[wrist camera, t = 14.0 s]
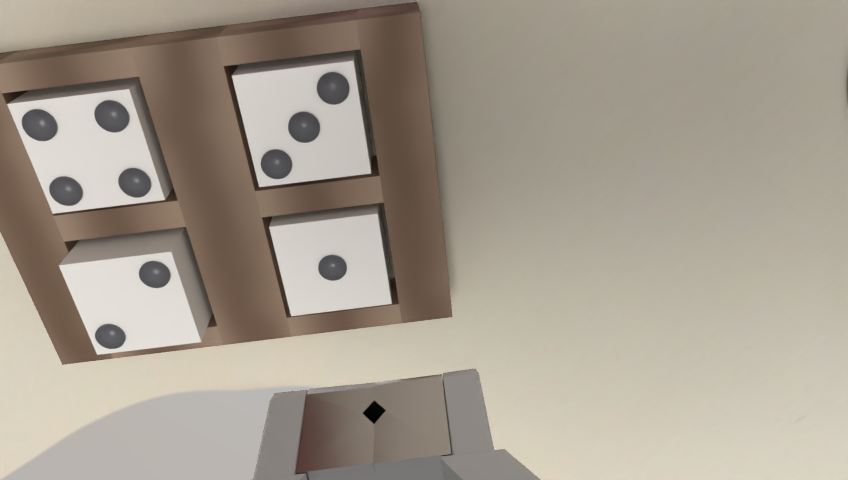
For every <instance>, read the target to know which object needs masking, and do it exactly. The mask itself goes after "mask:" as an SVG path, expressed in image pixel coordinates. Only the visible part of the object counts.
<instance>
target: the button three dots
mask: <svg viewBox="0 0 848 480" xmlns="http://www.w3.org/2000/svg"><path fill="white" fill-rule="evenodd" d="M232 79H233V83H234V87H235V91H236V95H237V99H238V103H239V108H240V112H241V116H242V120H243V124H244V128H245V132H246V136H247V140H248V144H249V148H250V152H251V156H252V160H253V164H254V168H255V172H256V176H257V180H258V184H259V187H265V186H273V185H282V184H290V183H298V182H306V181H314V180H322V179H331V178H339V177H347V176H355V175H363V174H371V163H372V150H371V143H370V137H369V130H368V124H367V117H366V111H365V104H364V98H363V91H362V85H361V78H360V72H359V65H358V59H357V53H356V50H351V51H343V52H335V53H327V54H318V55H310V56H302V57H294V58H286V59H278V60H270V61H261V62H253V63H245V64H240V65H239V66H238V68H237V69H236V71H235V72H234V73H233V75H232Z"/></svg>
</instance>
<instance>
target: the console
mask: <svg viewBox="0 0 848 480" xmlns="http://www.w3.org/2000/svg"><path fill="white" fill-rule="evenodd" d="M359 49H361V56H362V62H363V69H364V76H365V82H366V89H367V95H368V102H369V109H370V115H371V122H372V128H373V135H374V142H375V148H376V155H377V156H373V157H372V163H371V174H363V175H355V176H347V177H339V178H331V179H322V180H314V181H306V182H298V183H290V184H282V185H273V186H265V187H259V184H258V180H257V176H256V172H255V168H254V164H253V160H252V156H251V152H250V148H249V144H248V140H247V136H246V132H245V128H244V124H243V120H242V116H241V112H240V108H239V103H238V99H237V95H236V91H235V87H234V83H233V79H232V75H233V73H234V72H235V71H236V69H237V68H238V64H245V63H253V62H261V61H270V60H278V59H286V58H294V57H302V56H310V55H318V54H327V53H335V52H343V51H351V50H359ZM131 77H139V79H140V82H141V85H142V88H143V91H144V94H145V98H146V101H147V104H148V107H149V110H150V114H151V117H152V120H153V123H154V126H155V129H156V133H157V136H158V139H159V142H160V145H161V149H162V152H163V155H164V158H165V161H166V164H167V168H168V171H169V174H170V177H171V180H172V184H173V189H172V190H171V192H170V193H169V195H168V196H167V198H166V199H165V200H161V201H152V202H144V203H136V204H128V205H120V206H112V207H103V208H95V209H87V210H79V211H71V212H63V213H55V214H53V213H52V211H51V208H50V206H49V204H48V201H47V199H46V196H45V194H44V192H43V189H42V187H41V184H40V182H39V180H38V177H37V175H36V172H35V170H34V168H33V165H32V163H31V160H30V158H29V156H28V153H27V151H26V149H25V146H24V144H23V141H22V139H21V137H20V134H19V132H18V129H17V127H16V125H15V122H14V120H13V117H12V115H11V113H10V110H9V108H8V105H7V104H8V103H10V102H11V101H13V100H14V99H16V98H18V97H19V96H21V95H23V94H24V93H26V92H28V91H29V90H33V89H42V88H50V87H58V86H66V85H74V84H82V83H90V82H99V81H107V80H115V79H123V78H131ZM376 203H384V208H385V214H386V221H387V227H388V234H389V241H390V247H391V254H392V260H393V267H394V274H395V278H393V279H391V294H392V304H387V305H379V306H371V307H363V308H354V309H346V310H338V311H330V312H322V313H314V314H305V315H297V316H291V314H290V310H289V306H288V302H287V298H286V294H285V289H284V285H283V281H282V277H281V273H280V269H279V265H278V261H277V257H276V253H275V249H274V245H273V241H272V237H271V233H270V229H269V226H270V222H271V219H272V216H278V215H286V214H294V213H302V212H310V211H319V210H327V209H335V208H343V207H351V206H359V205H368V204H376ZM180 227H186V228H187V231H188V234H189V238H190V241H191V244H192V247H193V250H194V253H195V257H196V260H197V263H198V266H199V269H200V273H201V276H202V279H203V282H204V285H205V288H206V292H207V295H208V298H209V301H210V304H211V308H212V311H213V313H212V315H211V318H210V321H209V323H208V326H207V329H206V331H205V334H204V336H203V339H202V342H198V343H190V344H182V345H174V346H166V347H158V348H149V349H141V350H133V351H125V352H117V353H108V354H100V355H97V353H96V351H95V349H94V346H93V344H92V342H91V339H90V337H89V335H88V332H87V330H86V328H85V325H84V323H83V321H82V318H81V316H80V314H79V311H78V309H77V307H76V305H75V302H74V300H73V298H72V295H71V293H70V291H69V288H68V286H67V284H66V281H65V279H64V277H63V274H62V272H61V270H60V267H59V264H60V263H61V262H62V261H63V260H64V258H65V257H66V256H67V255H68V253H69V252H70V251H71V250H72V249H73V247H74V246H75V245H76V244H77V243H78V241H79V240H82V239H90V238H98V237H106V236H115V235H123V234H131V233H139V232H147V231H155V230H164V229H172V228H180ZM0 232H1V234H2V236H3V238H4V240H5V242H6V245H7V247H8V249H9V251H10V253H11V255H12V257H13V260H14V262H15V264H16V266H17V268H18V270H19V272H20V275H21V277H22V279H23V281H24V283H25V285H26V287H27V290H28V292H29V294H30V296H31V298H32V300H33V302H34V305H35V307H36V309H37V311H38V313H39V315H40V317H41V320H42V322H43V324H44V326H45V328H46V330H47V332H48V335H49V337H50V339H51V341H52V343H53V345H54V347H55V350H56V352H57V354H58V356H59V358H60V360H61V362H62V365H63V364H71V363H80V362H88V361H96V360H104V359H112V358H120V357H129V356H137V355H145V354H153V353H161V352H169V351H178V350H186V349H194V348H202V347H210V346H219V345H227V344H235V343H243V342H251V341H259V340H268V339H276V338H284V337H292V336H300V335H308V334H317V333H325V332H333V331H341V330H349V329H358V328H366V327H374V326H382V325H390V324H398V323H407V322H415V321H423V320H431V319H439V318H447V317H452V309H451V299H450V290H449V281H448V271H447V262H446V252H445V243H444V234H443V224H442V215H441V206H440V196H439V187H438V177H437V168H436V159H435V149H434V140H433V130H432V121H431V112H430V102H429V93H428V84H427V74H426V65H425V55H424V46H423V37H422V27H421V18H420V11H419V7H418V4H417V2H413V3H405V4H397V5H388V6H380V7H372V8H364V9H356V10H348V11H340V12H331V13H323V14H315V15H307V16H299V17H291V18H283V19H274V20H266V21H258V22H250V23H242V24H234V25H226V26H217V27H209V28H201V29H193V30H185V31H177V32H169V33H160V34H152V35H144V36H136V37H128V38H120V39H112V40H104V41H95V42H87V43H79V44H71V45H63V46H55V47H47V48H38V49H30V50H22V51H14V52H6V53H0Z"/></svg>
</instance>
